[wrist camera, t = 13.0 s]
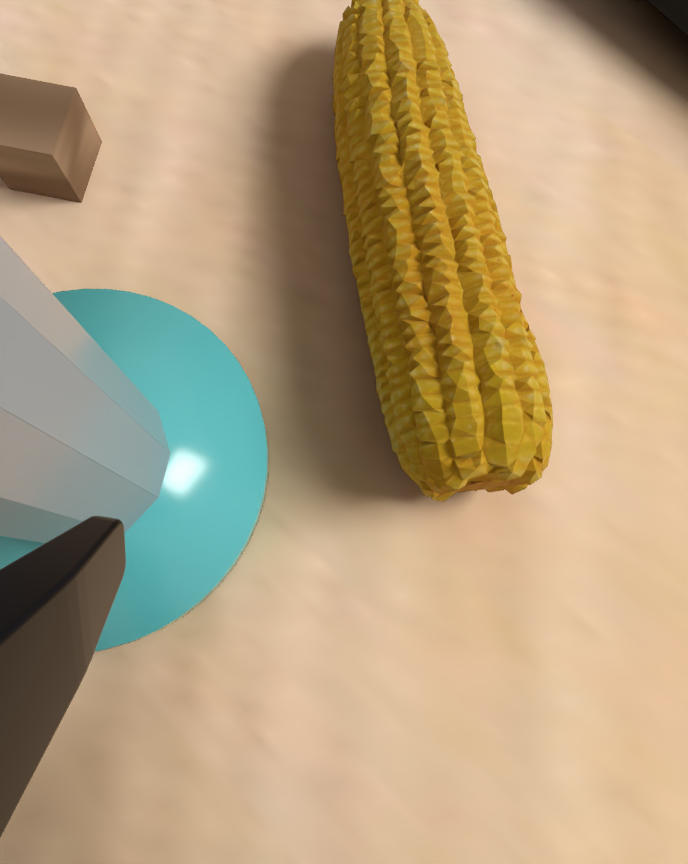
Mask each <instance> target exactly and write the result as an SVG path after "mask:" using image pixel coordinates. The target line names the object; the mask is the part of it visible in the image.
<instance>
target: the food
mask: <svg viewBox="0 0 688 864" xmlns="http://www.w3.org/2000/svg"><path fill="white" fill-rule="evenodd" d="M447 56H448V52H447V50H446V47H445V43H444V42H443V40H442V39H441V37H440V36H439V34H438V32H437V29H436V26H435V25H434V23H433V21H432V19H431V18H430V16H429V15H428V13H427V12H426V11H425V10H423V9H422V8H421V7H420V6H419V4H418V0H352V4H351V8H350V7H349V6H348V7H347V8H346V10H345V11H344V13H343V21H341V22H340V25H339V30H338V35H337V41H336V47H335V59H334V71H333V79H332V80H333V86H334V88H333V90H334V95H333V103H332V107H333V112H334V115H335V123H334V137H335V141H336V148H337V149H336V161H337V162H338V164H337V168H338V171H339V175H340V181H341V186H342V191H343V202H344V211H343V215H345V216H346V225H347V229H348V233H349V246H350V249H349V255H350V258H351V261H352V265H353V268H352V272H353V274H354V276H355V278H356V281H357V282H356V285H357V287H358V291H359V298H360V305H361V312H362V315H363V317H364V323H365V329H366V333H365V334H366V335H367V336H368V340H367V342H368V345H369V348H370V354H371V358H372V361H373V365H374V371H375V376H376V392H377V393H378V394H379V396H378V398H379V400H380V403H381V411H382V414H384V416H385V426H386V427H387V429H388V434H389V436H390V440H391V445H392V451H394V452H395V453H397V456H398V462H400V465H401V468H402V469H403V470H404V471H405V472H406V473H407V474H408V475H409V476H410V479H411V480H413V481H414V482H415V483H416V484H417V485H418V486H419V487H420V489H421V490H422V492H423V494H424V495H427V497H432V500H437V501H445V500H447V499H448V498H449V497H451V496H452V495H453V494H455V493H456V492H465V491H471V490H475V491H477V490H481V489H486V490H487V491H488V492H494V491H501V490H504V489H505V490H507V491H508V492H509V493H511V494H514V493H516V492H519V491H521V490H523V489H525V488H526V487H527V486H528V485H531V484H532V483H534V482H535V481H537V480H538V479H540V478H541V477H542V471H543V470H544V469H545V468H546V467H547V466H548V461H549V457H550V452H551V444H552V428H553V416H552V404H551V399H550V390H549V384H548V378H547V375H546V370H545V365H544V362H543V360H542V358H541V356H540V353H539V351H538V348H537V345H536V343H535V339H536V338H535V337H534V335H533V334H532V332H531V331H530V329H529V325H528V323H527V321H526V319H525V317H524V315H523V313H522V310H521V306H520V301H521V293H520V292H519V291H518V290H517V288H516V285H515V280H514V276H513V273H512V270H511V268H512V263H511V256H510V255H508V253H507V248H506V243H505V241H506V236H505V235H504V233H503V231H502V228H501V224H500V220H499V216H498V212H497V207H496V203H495V201H494V200H493V196H492V191H491V189H490V188H489V187H488V180H487V177H486V175H485V172H484V169H483V165H482V161H481V157H480V156H479V155H477V153H476V142H475V139H476V138H475V136H474V134H473V133H472V131H471V129H470V127H469V124H468V120H467V116H466V113H465V110H464V103H463V98H462V94H461V92H460V90H459V84H458V82H457V80H456V79H455V75H454V72H453V70H452V69H451V66H452V65H451V63H450V61H449V60H448V58H447Z"/></svg>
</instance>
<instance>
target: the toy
mask: <svg viewBox="0 0 688 864" xmlns="http://www.w3.org/2000/svg"><path fill="white" fill-rule="evenodd" d="M646 1H648V2H649V3H650V4H652V5H653V6H654V7H656V8H657V9H658V10H659V11H660V12H661V13H663V14H664V15H665V16H666V17H667V18H668V19H669V20H671V21H672V22H673V23H674V24H675V25H676V26H677V27H678V28H680V29H681V30H682V31H683V32H684V33H685V34H686V35H687V36H688V0H646Z"/></svg>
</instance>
